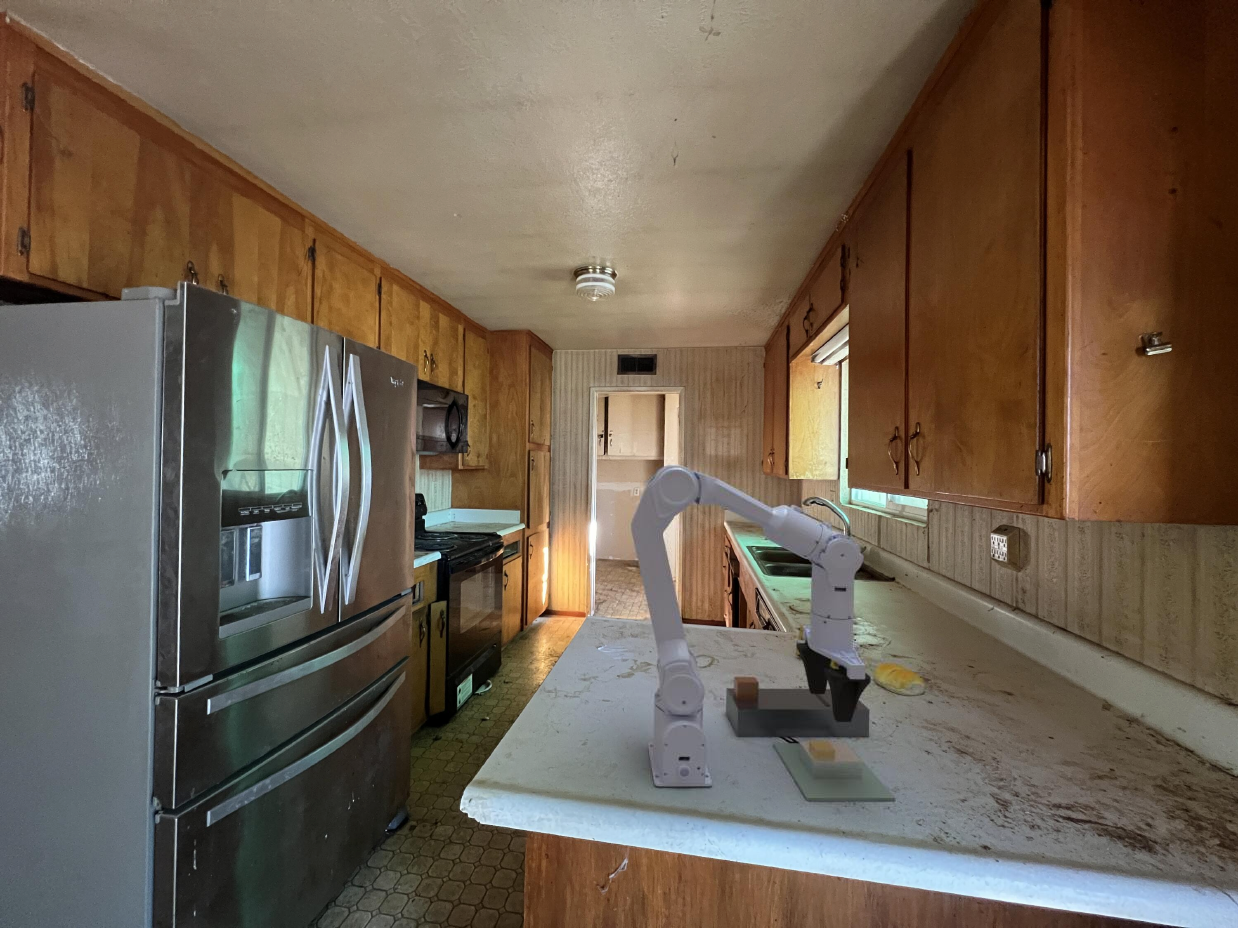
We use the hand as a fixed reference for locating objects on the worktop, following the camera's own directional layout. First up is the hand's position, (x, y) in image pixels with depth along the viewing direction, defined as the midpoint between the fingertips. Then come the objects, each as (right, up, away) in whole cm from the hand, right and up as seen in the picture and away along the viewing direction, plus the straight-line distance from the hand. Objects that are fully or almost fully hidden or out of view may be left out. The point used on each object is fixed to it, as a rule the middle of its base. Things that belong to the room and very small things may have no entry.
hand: (829, 705), depth 68 cm
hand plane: (-1, -9, +12) cm, 15 cm away
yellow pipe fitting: (+15, -10, +39) cm, 43 cm away
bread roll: (+27, -11, +27) cm, 40 cm away
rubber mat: (0, -9, 0) cm, 9 cm away
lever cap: (0, -9, 0) cm, 9 cm away
